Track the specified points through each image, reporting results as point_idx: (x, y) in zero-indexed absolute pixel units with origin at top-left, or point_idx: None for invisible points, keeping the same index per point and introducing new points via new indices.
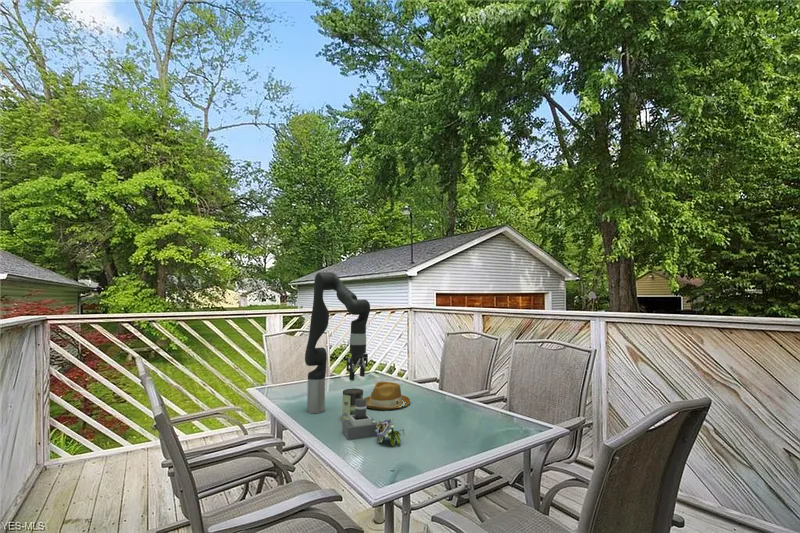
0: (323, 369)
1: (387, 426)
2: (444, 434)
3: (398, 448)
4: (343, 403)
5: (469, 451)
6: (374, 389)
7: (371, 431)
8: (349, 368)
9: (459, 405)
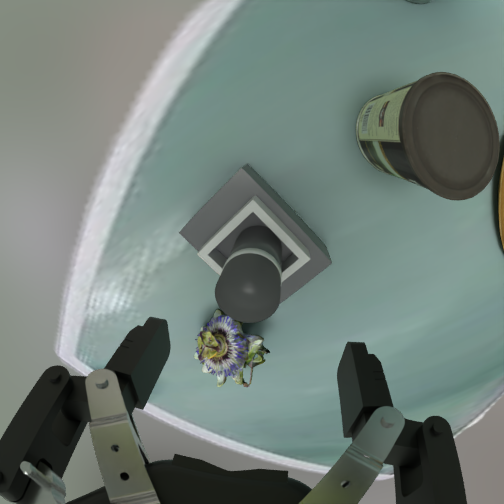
0: None
1: (209, 367)
2: (336, 409)
3: None
4: (389, 95)
5: (262, 442)
6: None
7: None
8: (88, 399)
9: None
